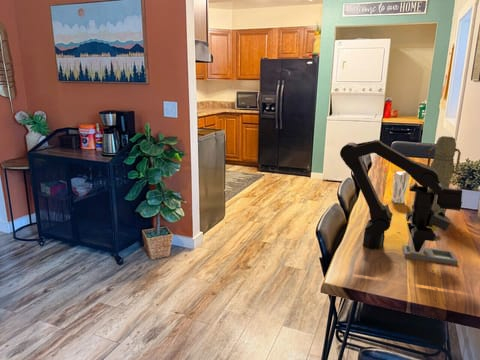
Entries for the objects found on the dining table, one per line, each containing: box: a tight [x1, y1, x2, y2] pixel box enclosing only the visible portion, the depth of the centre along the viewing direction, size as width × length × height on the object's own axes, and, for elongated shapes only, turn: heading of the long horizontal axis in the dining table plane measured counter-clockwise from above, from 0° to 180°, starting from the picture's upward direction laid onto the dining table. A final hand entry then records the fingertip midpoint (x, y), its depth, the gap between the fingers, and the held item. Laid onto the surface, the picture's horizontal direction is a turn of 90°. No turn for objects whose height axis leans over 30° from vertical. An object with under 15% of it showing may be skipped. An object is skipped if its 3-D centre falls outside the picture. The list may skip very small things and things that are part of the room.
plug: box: [408, 230, 427, 255], centre depth 119 cm, size 4×4×9 cm
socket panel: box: [401, 244, 459, 266], centre depth 119 cm, size 16×7×2 cm, turn 73°
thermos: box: [426, 135, 462, 215], centre depth 156 cm, size 9×12×35 cm
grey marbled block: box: [391, 170, 410, 205], centre depth 175 cm, size 7×7×15 cm
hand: (416, 248), depth 120 cm, fingers closed on plug, 4 cm apart
